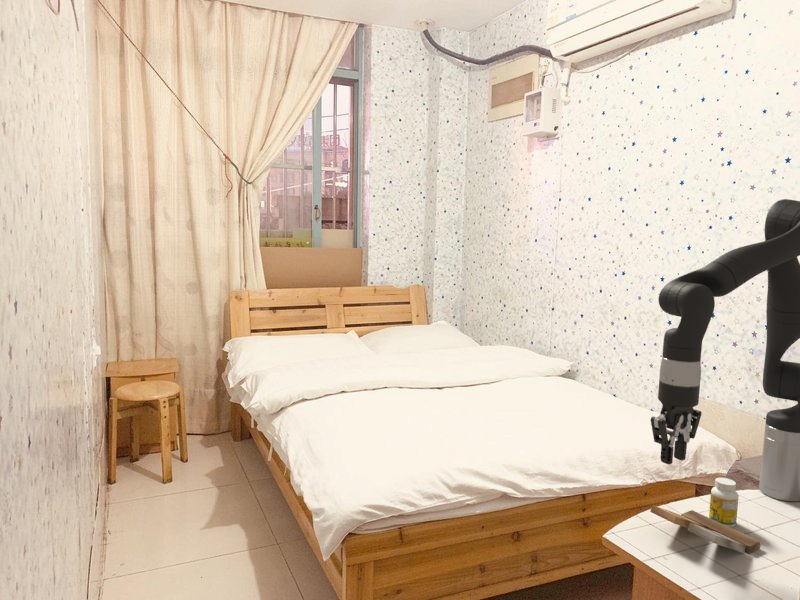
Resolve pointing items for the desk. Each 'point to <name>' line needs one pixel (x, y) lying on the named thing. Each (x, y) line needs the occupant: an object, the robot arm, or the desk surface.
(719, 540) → the grey ash plank
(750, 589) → the desk surface
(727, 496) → the supplement bottle
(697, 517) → the walnut panel
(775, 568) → the desk surface
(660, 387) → the robot arm
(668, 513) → the chestnut plank
